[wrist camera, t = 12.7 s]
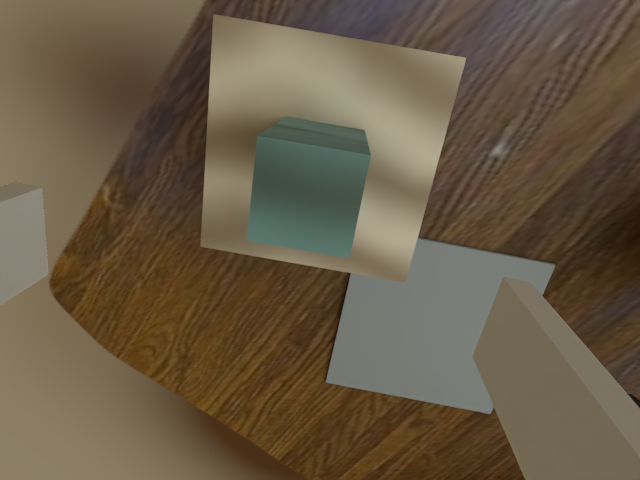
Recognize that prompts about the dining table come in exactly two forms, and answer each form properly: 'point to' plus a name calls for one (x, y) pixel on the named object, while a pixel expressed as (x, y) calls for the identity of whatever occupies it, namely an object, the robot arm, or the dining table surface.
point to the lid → (322, 146)
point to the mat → (426, 324)
